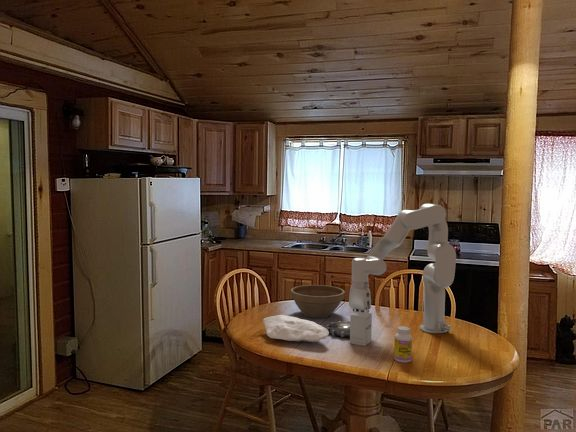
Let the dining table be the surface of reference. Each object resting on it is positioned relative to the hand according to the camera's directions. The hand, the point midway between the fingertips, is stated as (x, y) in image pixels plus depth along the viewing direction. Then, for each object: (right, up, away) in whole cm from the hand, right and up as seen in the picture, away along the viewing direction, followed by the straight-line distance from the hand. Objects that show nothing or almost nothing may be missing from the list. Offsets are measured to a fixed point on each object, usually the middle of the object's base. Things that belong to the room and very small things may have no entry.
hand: (358, 323), depth 219 cm
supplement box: (-1, -5, -14) cm, 15 cm away
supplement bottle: (+12, -7, -35) cm, 37 cm away
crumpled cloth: (-29, -5, -9) cm, 31 cm away
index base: (-10, -4, +2) cm, 10 cm away
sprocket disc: (-6, -4, -1) cm, 7 cm away
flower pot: (-18, -2, +29) cm, 34 cm away
